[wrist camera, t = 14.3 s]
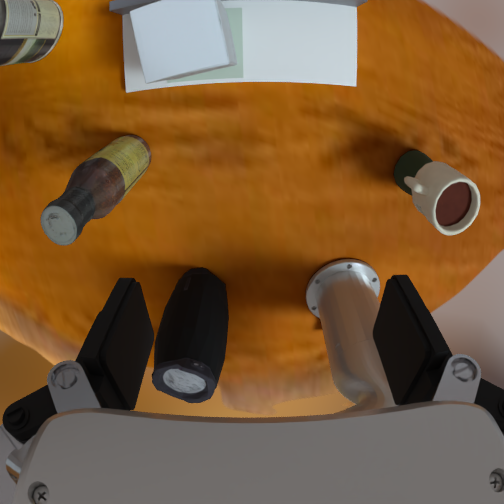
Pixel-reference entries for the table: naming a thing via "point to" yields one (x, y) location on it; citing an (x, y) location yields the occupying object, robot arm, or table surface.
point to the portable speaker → (192, 338)
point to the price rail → (126, 3)
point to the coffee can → (28, 30)
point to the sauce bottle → (96, 188)
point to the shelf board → (272, 45)
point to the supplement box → (182, 38)
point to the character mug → (438, 192)
